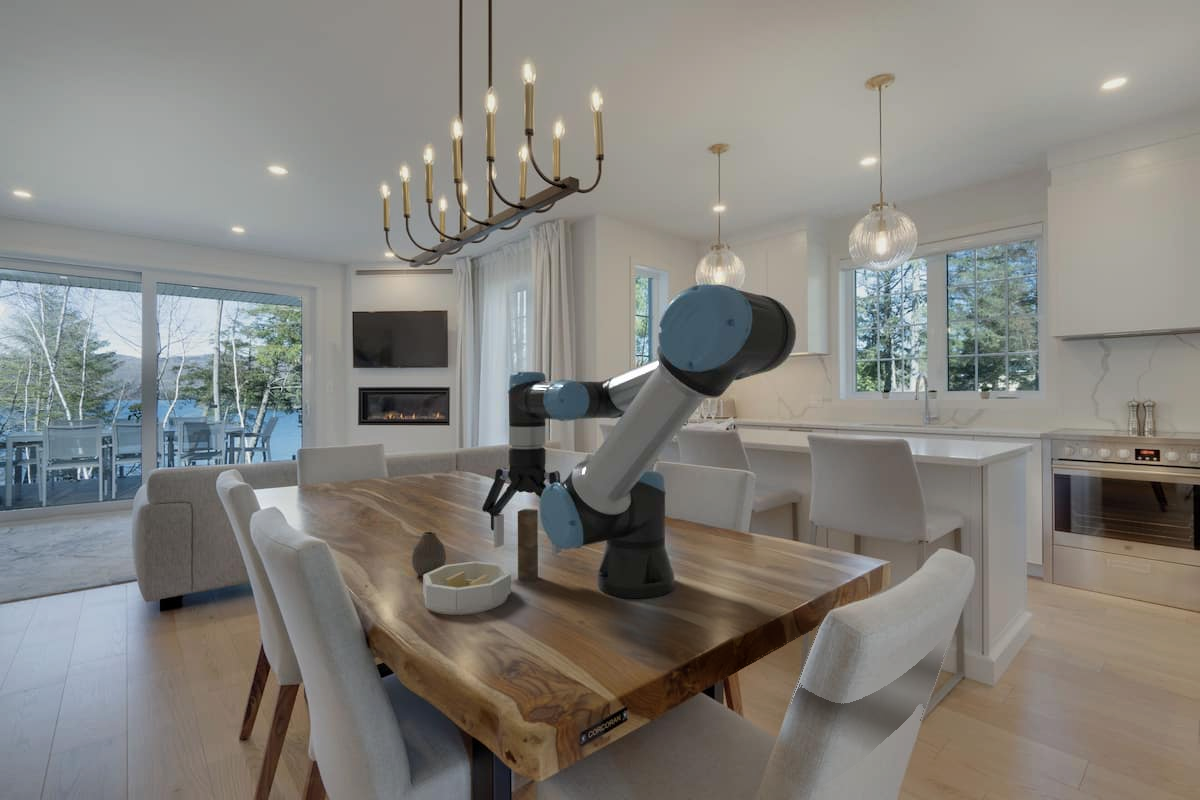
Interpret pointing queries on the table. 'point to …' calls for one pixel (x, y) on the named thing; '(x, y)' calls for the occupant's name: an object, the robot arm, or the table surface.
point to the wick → (527, 544)
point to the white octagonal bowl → (466, 588)
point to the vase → (428, 554)
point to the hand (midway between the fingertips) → (527, 549)
